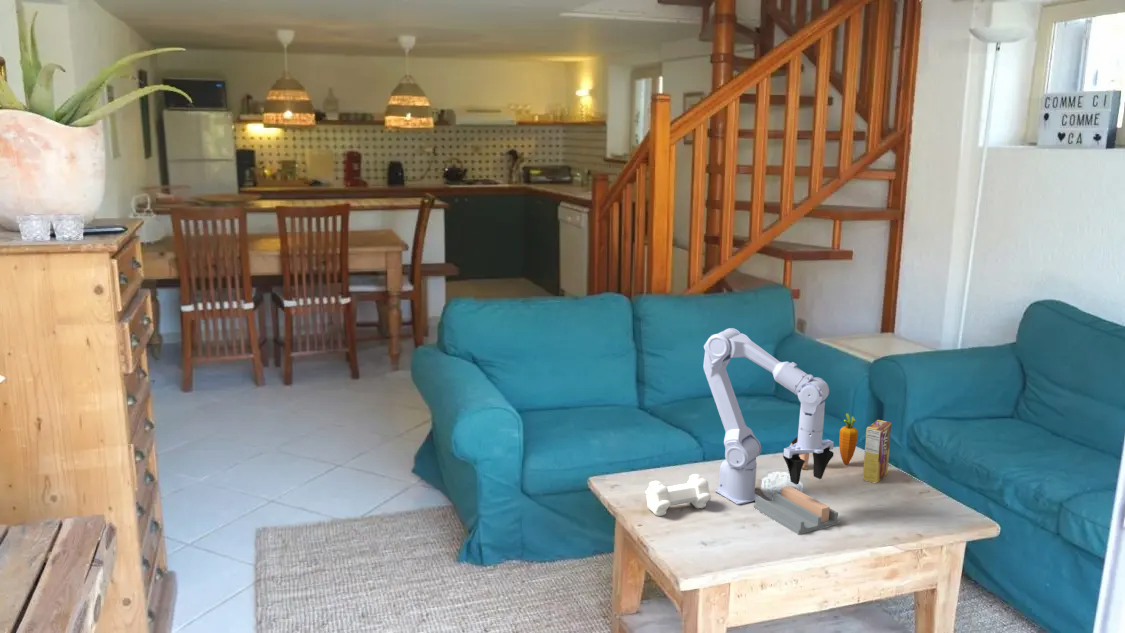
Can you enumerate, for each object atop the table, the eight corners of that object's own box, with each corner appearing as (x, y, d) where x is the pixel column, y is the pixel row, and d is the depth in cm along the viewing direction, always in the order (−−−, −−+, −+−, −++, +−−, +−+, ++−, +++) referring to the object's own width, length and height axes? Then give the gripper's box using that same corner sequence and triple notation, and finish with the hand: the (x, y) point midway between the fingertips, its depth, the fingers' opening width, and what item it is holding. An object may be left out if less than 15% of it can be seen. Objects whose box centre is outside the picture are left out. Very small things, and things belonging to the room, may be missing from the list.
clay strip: (780, 500, 218) (781, 487, 218) (788, 498, 220) (789, 485, 219) (820, 522, 206) (822, 508, 206) (828, 520, 208) (829, 506, 207)
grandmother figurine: (788, 469, 242) (791, 426, 239) (787, 464, 245) (790, 422, 243) (816, 471, 240) (820, 428, 238) (815, 466, 244) (818, 424, 241)
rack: (753, 508, 216) (754, 497, 215) (792, 498, 222) (793, 488, 221) (798, 534, 202) (799, 522, 201) (838, 523, 208) (839, 512, 207)
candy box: (872, 470, 242) (877, 419, 239) (887, 474, 239) (893, 422, 236) (861, 479, 235) (866, 427, 232) (876, 483, 232) (882, 430, 229)
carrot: (855, 468, 243) (860, 418, 239) (837, 467, 244) (842, 417, 240) (853, 462, 247) (858, 413, 244) (835, 460, 248) (840, 411, 245)
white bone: (658, 522, 209) (661, 492, 206) (642, 505, 216) (644, 476, 214) (710, 512, 215) (714, 483, 212) (692, 496, 222) (695, 468, 220)
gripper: (800, 437, 202) (795, 491, 205) (844, 428, 208) (839, 480, 211) (779, 428, 208) (775, 480, 211) (823, 420, 214) (818, 470, 217)
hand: (806, 480), depth 211 cm, fingers open, 7 cm apart
